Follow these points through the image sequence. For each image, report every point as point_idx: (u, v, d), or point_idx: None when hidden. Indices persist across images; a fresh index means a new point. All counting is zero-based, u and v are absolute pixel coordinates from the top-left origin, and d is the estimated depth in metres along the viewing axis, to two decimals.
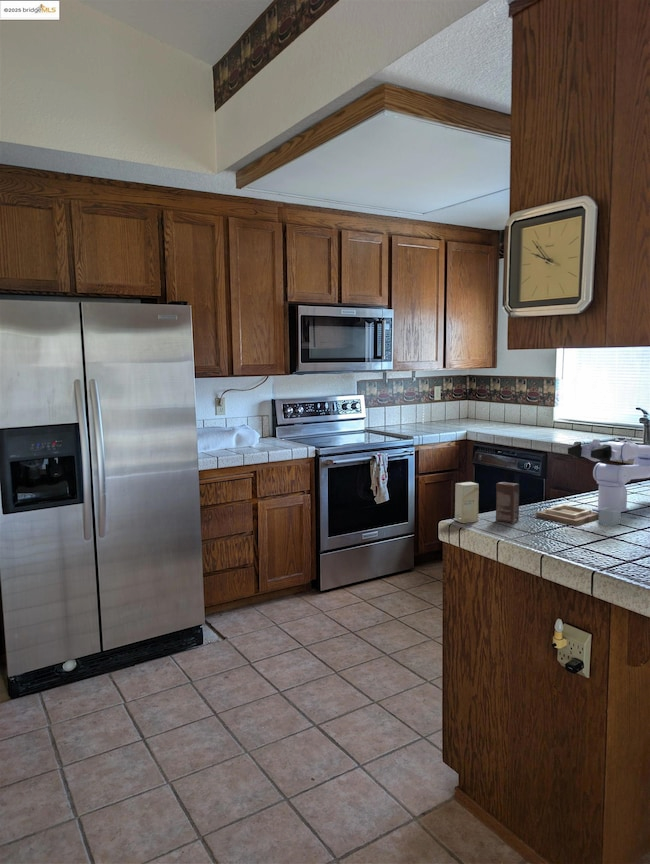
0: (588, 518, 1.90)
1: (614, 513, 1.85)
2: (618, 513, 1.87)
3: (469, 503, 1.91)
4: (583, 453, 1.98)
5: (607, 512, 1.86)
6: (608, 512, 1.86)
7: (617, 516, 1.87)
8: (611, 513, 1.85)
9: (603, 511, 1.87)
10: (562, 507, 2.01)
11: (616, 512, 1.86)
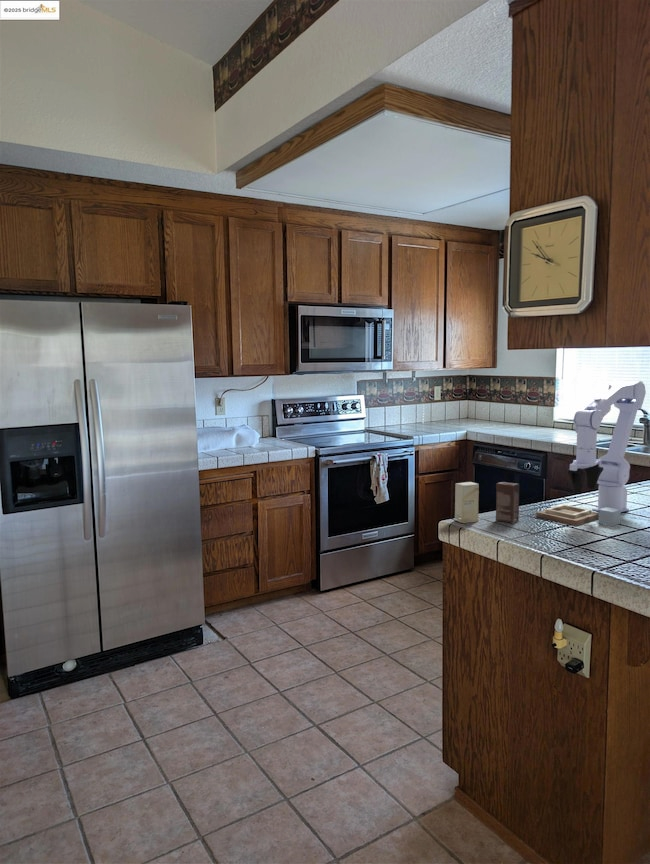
0: (588, 518, 1.90)
1: (614, 513, 1.85)
2: (618, 513, 1.87)
3: (469, 503, 1.91)
4: None
5: (607, 512, 1.86)
6: (608, 512, 1.86)
7: (617, 516, 1.87)
8: (611, 513, 1.85)
9: (603, 511, 1.87)
10: (562, 507, 2.01)
11: (616, 512, 1.86)
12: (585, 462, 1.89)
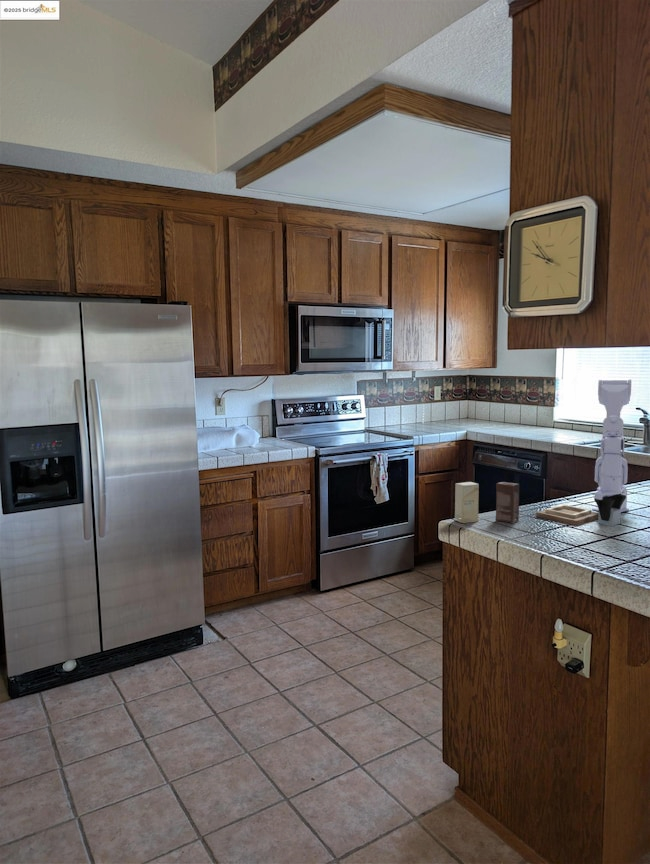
0: (588, 518, 1.90)
1: (614, 513, 1.85)
2: (618, 513, 1.87)
3: (469, 503, 1.91)
4: None
5: None
6: None
7: (617, 516, 1.87)
8: (611, 513, 1.85)
9: None
10: (562, 507, 2.01)
11: (616, 512, 1.86)
12: (610, 490, 1.85)
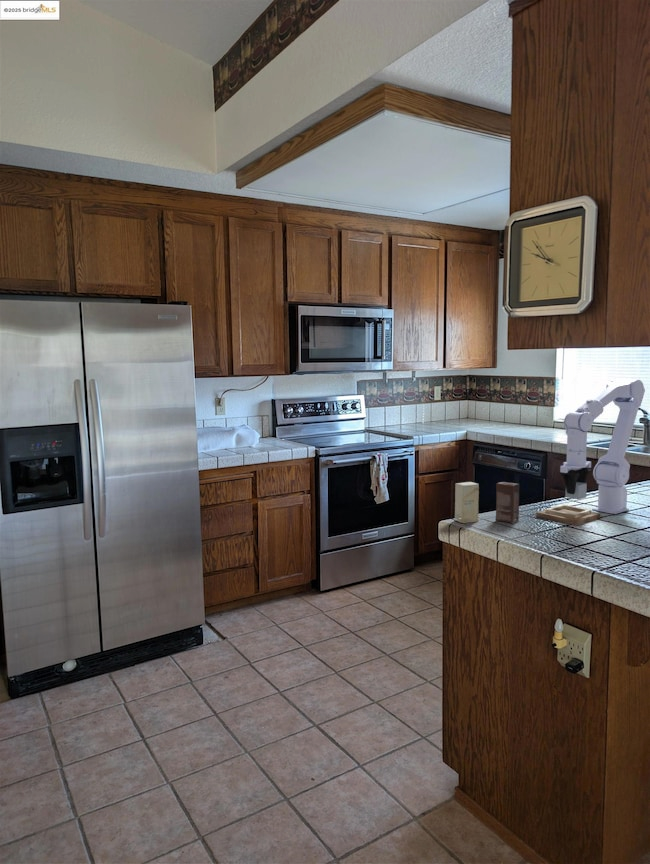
0: (588, 518, 1.90)
1: (580, 486, 1.91)
2: (584, 487, 1.92)
3: (469, 503, 1.91)
4: None
5: None
6: None
7: (583, 489, 1.92)
8: (577, 486, 1.91)
9: None
10: (562, 507, 2.01)
11: (582, 485, 1.92)
12: (575, 464, 1.90)
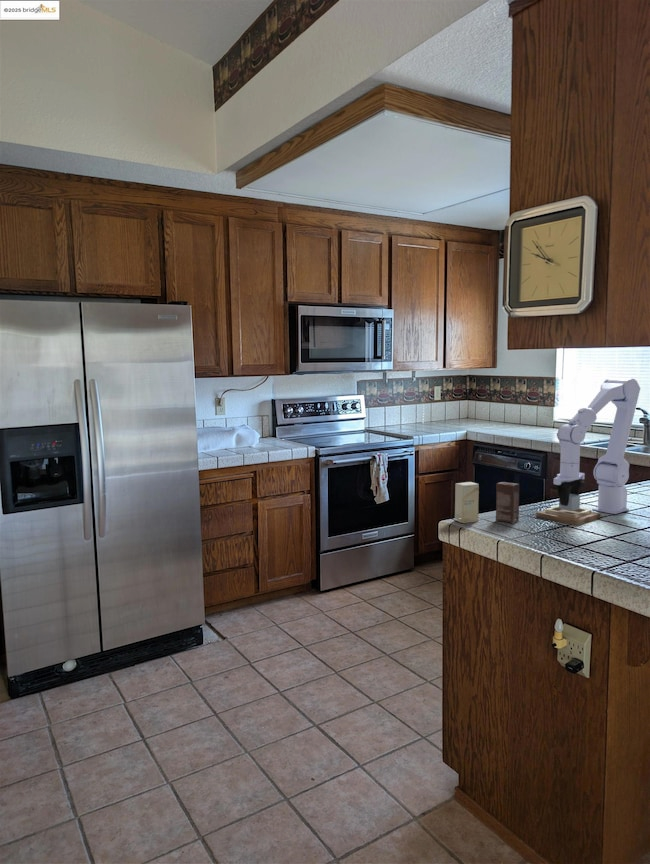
0: (588, 518, 1.90)
1: (573, 498, 1.93)
2: (577, 498, 1.94)
3: (469, 503, 1.91)
4: None
5: None
6: None
7: (576, 501, 1.94)
8: (570, 498, 1.92)
9: None
10: None
11: (575, 497, 1.93)
12: (569, 476, 1.92)
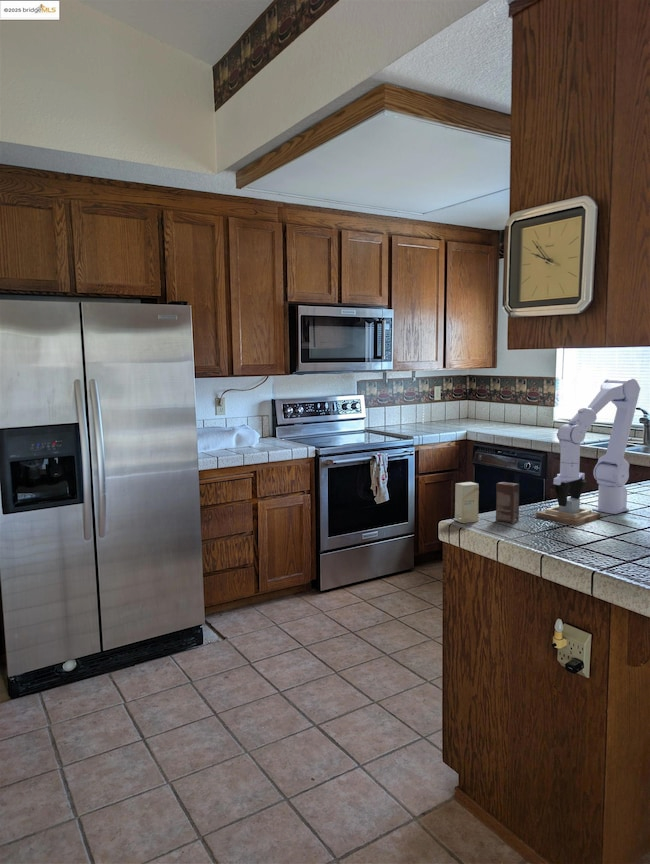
0: (588, 518, 1.90)
1: (573, 502, 1.93)
2: (577, 502, 1.94)
3: (469, 503, 1.91)
4: None
5: None
6: (567, 501, 1.93)
7: (576, 505, 1.94)
8: (570, 502, 1.93)
9: None
10: None
11: (575, 501, 1.93)
12: (569, 476, 1.92)
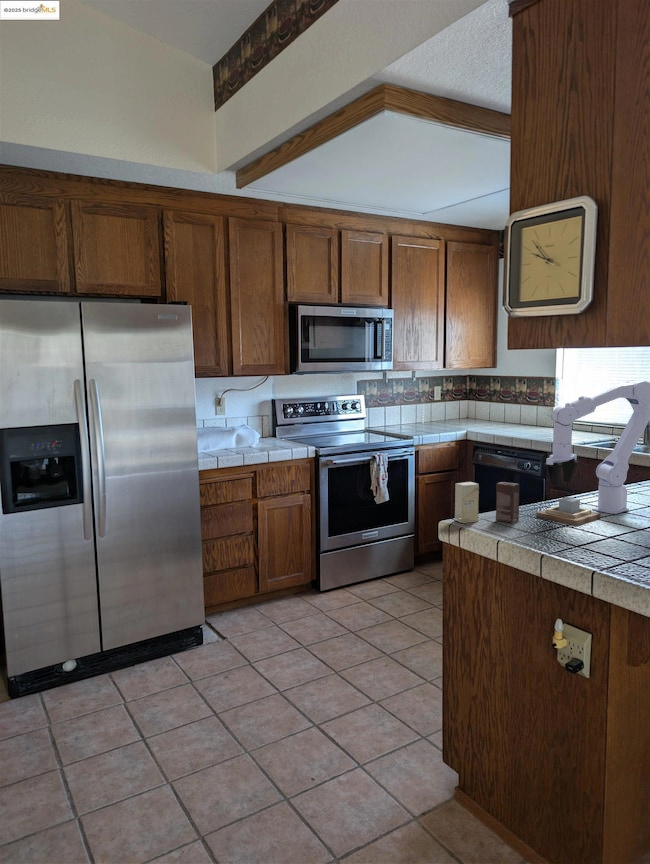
0: (588, 518, 1.90)
1: (573, 502, 1.93)
2: (577, 502, 1.94)
3: (469, 503, 1.91)
4: None
5: (566, 501, 1.94)
6: (567, 501, 1.93)
7: (576, 505, 1.94)
8: (570, 502, 1.93)
9: (563, 501, 1.95)
10: None
11: (575, 501, 1.93)
12: (561, 456, 1.99)
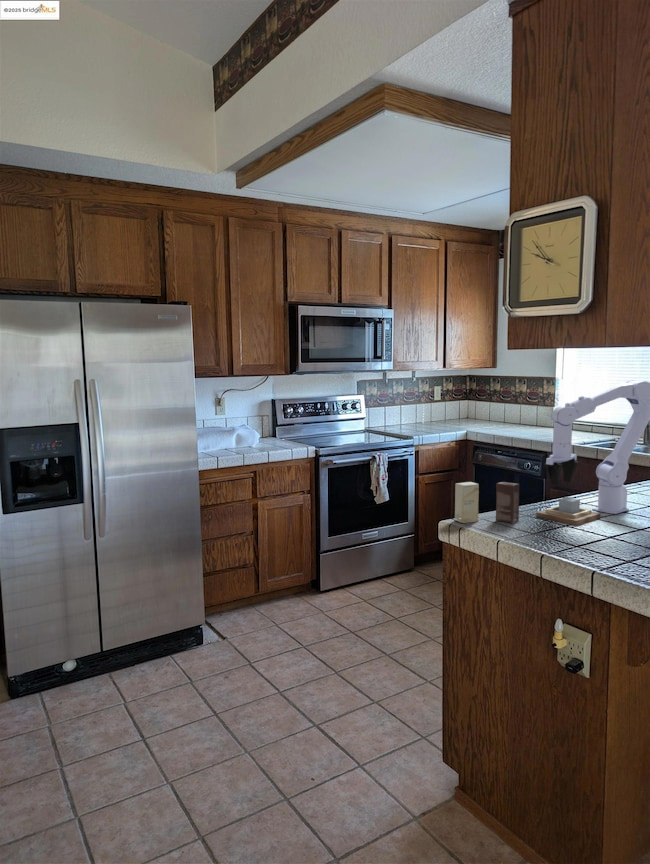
0: (588, 518, 1.90)
1: (573, 502, 1.93)
2: (577, 502, 1.94)
3: (469, 503, 1.91)
4: None
5: (566, 501, 1.94)
6: (567, 501, 1.93)
7: (576, 505, 1.94)
8: (570, 502, 1.93)
9: (563, 501, 1.95)
10: None
11: (575, 501, 1.93)
12: (561, 456, 1.99)
